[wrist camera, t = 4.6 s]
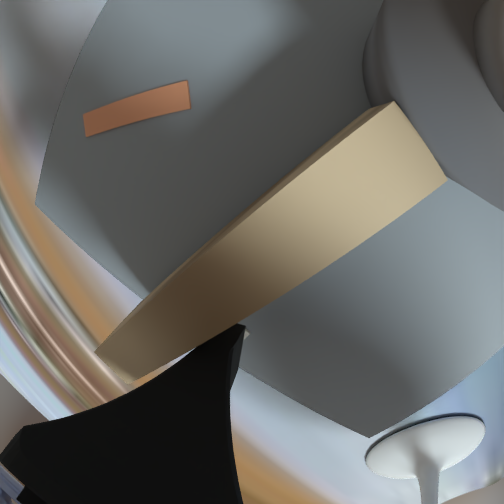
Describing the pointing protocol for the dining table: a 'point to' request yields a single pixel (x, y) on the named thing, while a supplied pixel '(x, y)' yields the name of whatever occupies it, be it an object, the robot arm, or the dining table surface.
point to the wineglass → (426, 451)
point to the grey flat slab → (257, 183)
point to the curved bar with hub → (344, 179)
